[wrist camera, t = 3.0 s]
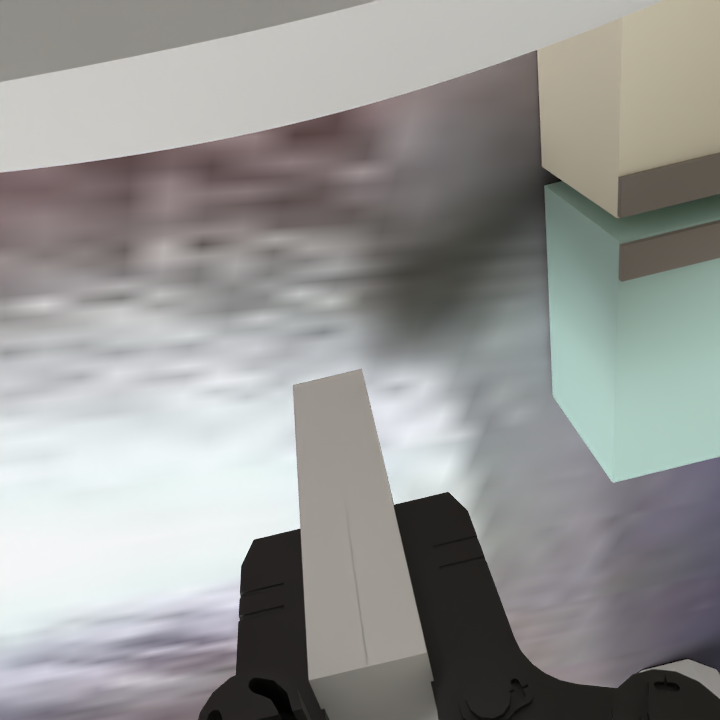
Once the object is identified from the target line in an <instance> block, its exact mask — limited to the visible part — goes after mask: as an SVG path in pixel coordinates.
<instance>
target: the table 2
mask: <svg viewBox="0 0 720 720" xmlns="http://www.w3.org/2000/svg"><path fill="white" fill-rule="evenodd" d="M651 669H657V670H667V671H676V672H678V673H681V674H683V675H685V676H688V677H690V678H692V679H695V680H697V681H699V682H700V683H701V684H703V685H704V686H705V687H706V688H707V689H709V690H710V691H711V692H712V693H714V694H715V695H716V696H717V697H718V698H720V674H719V673H718V671H717V670H716V669H714V668H711V667H708V666H706V665H703V664H700V663H697V662H695V661H692V660H689V659H686V660H682V661H678V662H674V663H670V664H666V665H662V666H658V667H654V668H650V669H645V670H642V671H641V672H644V671H647V670H651ZM639 673H640V672H639Z"/></svg>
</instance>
